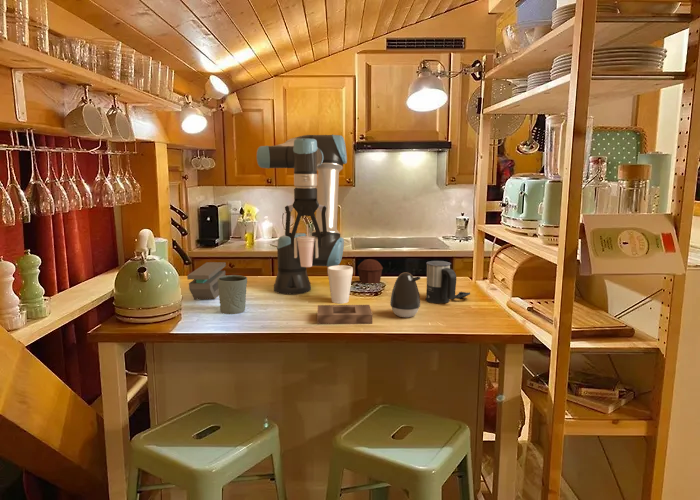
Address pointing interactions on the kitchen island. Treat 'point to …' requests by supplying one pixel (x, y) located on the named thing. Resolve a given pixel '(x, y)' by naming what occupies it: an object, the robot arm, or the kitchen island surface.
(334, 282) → the foam cup
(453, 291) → the milk frother
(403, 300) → the pump dispenser
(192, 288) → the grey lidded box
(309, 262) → the smoothie
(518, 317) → the kitchen island surface
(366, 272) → the muffin
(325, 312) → the bottle holder
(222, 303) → the embossed green cup
